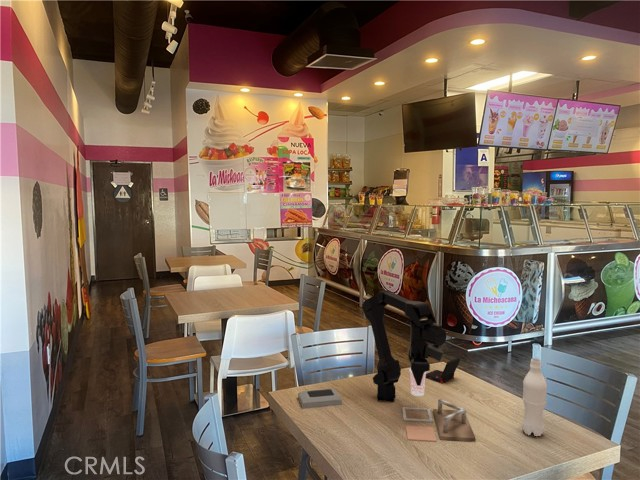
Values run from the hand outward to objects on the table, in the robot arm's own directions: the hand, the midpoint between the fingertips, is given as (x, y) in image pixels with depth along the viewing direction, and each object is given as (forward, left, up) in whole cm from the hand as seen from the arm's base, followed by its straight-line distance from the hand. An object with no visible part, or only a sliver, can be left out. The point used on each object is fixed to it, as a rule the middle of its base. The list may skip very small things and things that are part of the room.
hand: (417, 381), depth 170 cm
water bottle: (+37, -9, -13) cm, 40 cm away
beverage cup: (0, 0, -5) cm, 5 cm away
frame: (0, 0, -12) cm, 12 cm away
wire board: (+11, -7, -12) cm, 18 cm away
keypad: (-36, +7, -13) cm, 39 cm away
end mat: (0, -14, -12) cm, 19 cm away
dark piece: (+14, +36, -13) cm, 41 cm away
